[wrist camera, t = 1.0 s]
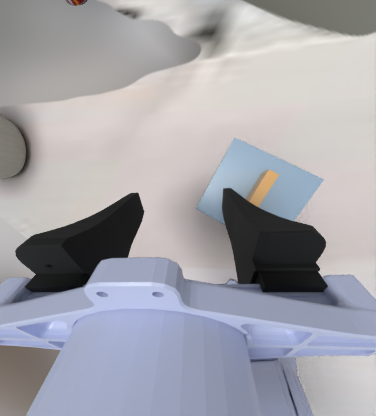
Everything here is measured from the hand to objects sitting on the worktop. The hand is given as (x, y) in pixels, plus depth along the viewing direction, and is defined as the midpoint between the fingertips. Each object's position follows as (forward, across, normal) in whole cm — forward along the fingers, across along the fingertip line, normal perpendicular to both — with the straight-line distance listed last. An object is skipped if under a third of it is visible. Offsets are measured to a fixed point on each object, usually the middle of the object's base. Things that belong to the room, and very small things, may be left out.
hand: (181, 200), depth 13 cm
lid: (+8, -9, +4) cm, 13 cm away
